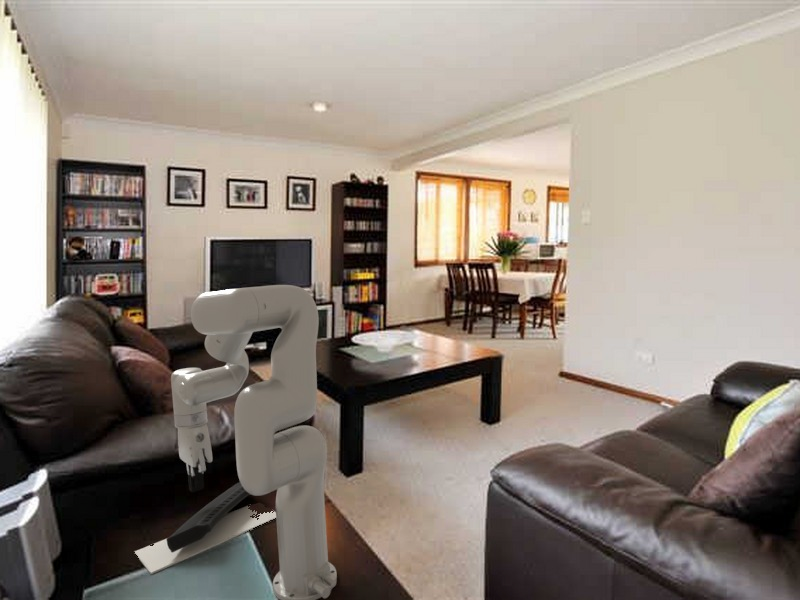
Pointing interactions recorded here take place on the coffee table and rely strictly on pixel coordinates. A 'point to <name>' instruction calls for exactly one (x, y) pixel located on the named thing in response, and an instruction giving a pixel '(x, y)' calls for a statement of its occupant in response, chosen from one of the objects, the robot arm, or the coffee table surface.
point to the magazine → (206, 518)
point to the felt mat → (221, 532)
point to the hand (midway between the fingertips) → (196, 489)
